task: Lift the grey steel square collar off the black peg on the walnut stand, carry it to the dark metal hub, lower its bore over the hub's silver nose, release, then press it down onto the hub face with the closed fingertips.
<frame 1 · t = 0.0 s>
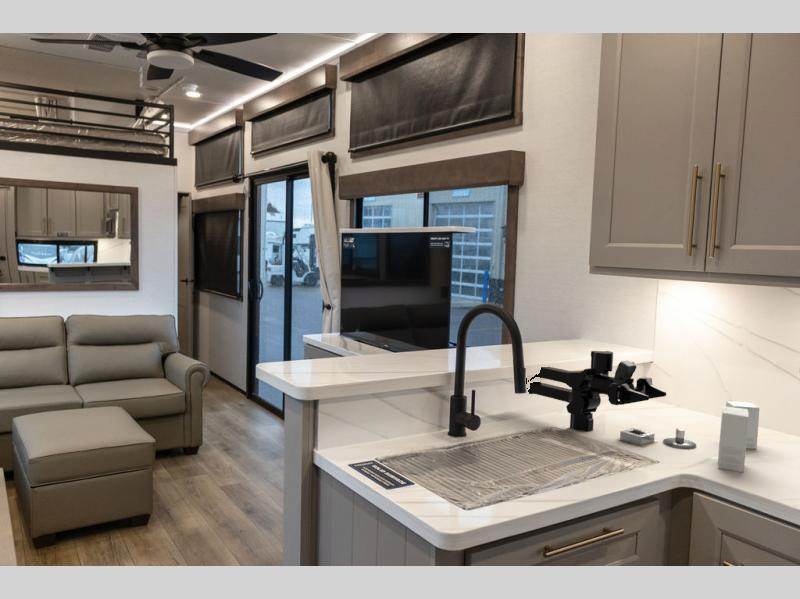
hand: (657, 396, 182), 17 cm above the worktop, tool horizontal, fingers open, 9 cm apart
stand: (636, 444, 191), on the worktop
collar: (636, 440, 191), point 1 cm above the worktop, touching stand
supplement box: (739, 445, 193), on the worktop
skincare box: (731, 467, 173), on the worktop
hub: (679, 447, 188), on the worktop
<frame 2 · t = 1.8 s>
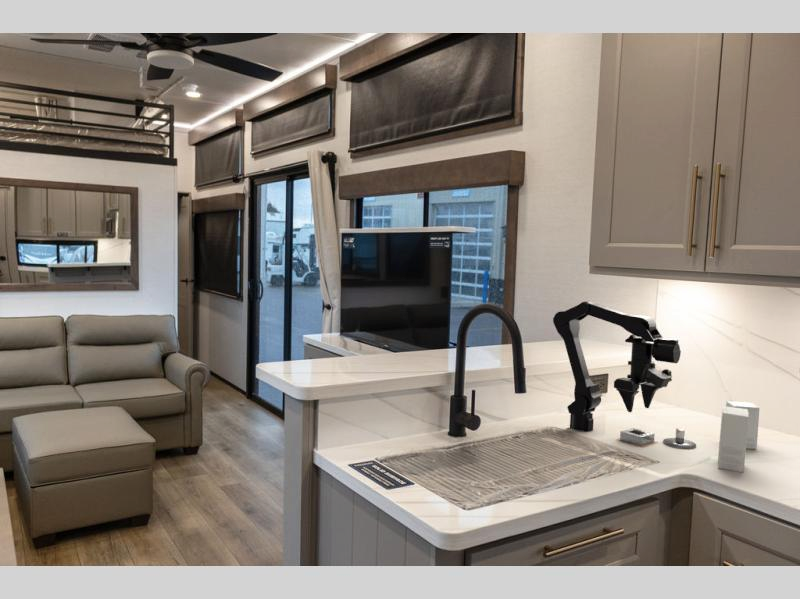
hand: (638, 410, 190), 10 cm above the worktop, tool pointing down, fingers open, 9 cm apart
nothing on the worktop moved.
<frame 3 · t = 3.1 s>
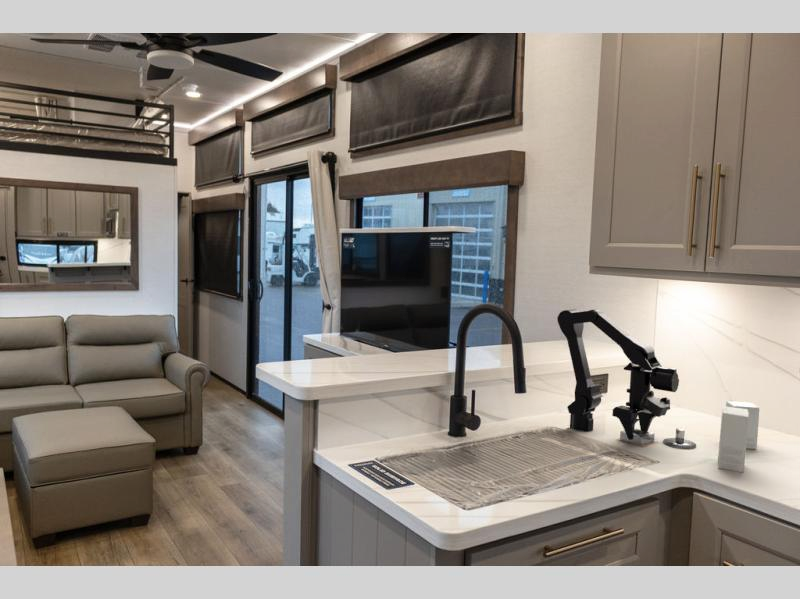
hand: (637, 437, 190), 2 cm above the worktop, tool pointing down, fingers closed on collar, 7 cm apart
collar: (636, 440, 191), point 1 cm above the worktop, touching gripper, stand
everything else where it was.
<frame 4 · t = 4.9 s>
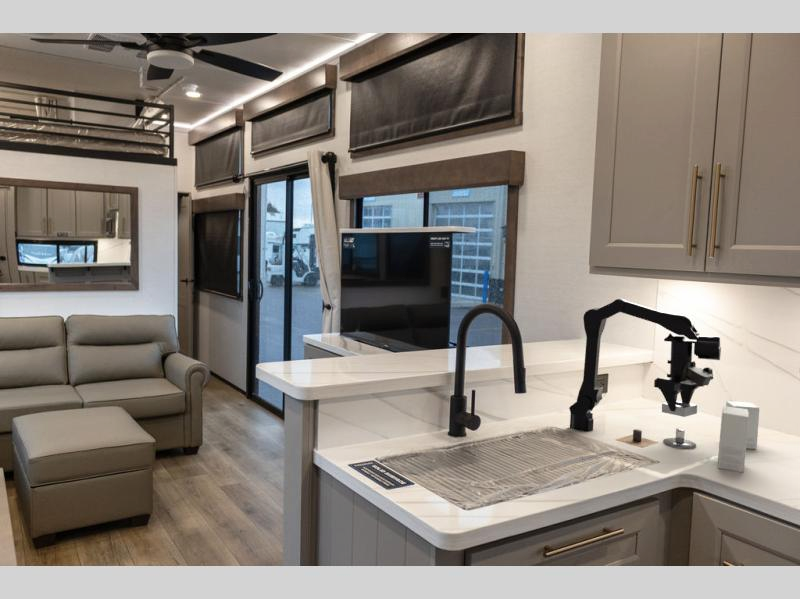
hand: (679, 409, 187), 12 cm above the worktop, tool pointing down, fingers closed on collar, 7 cm apart
collar: (679, 412, 187), point 11 cm above the worktop, touching gripper
everything else where it was.
when the fingers open (4 cm above the worktop, at t = 6.8 s): collar drops 1 cm, resting on hub.
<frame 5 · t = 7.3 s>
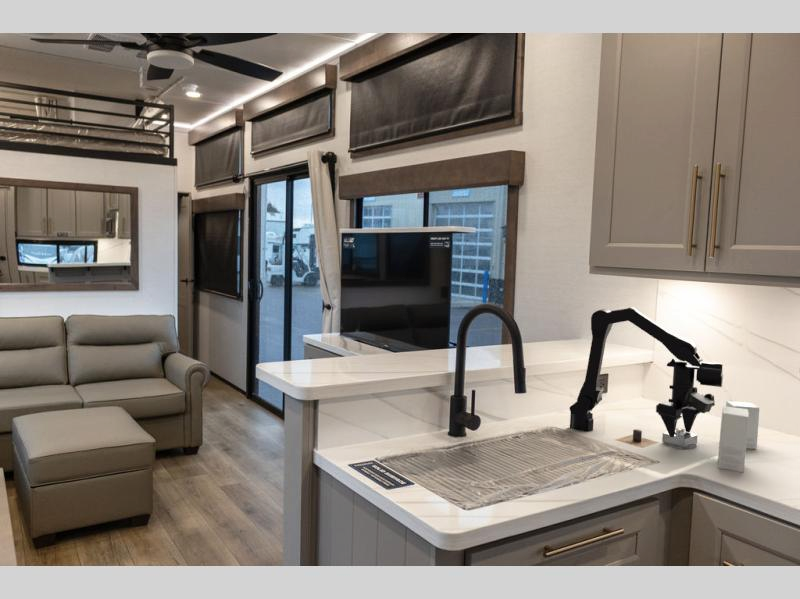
hand: (679, 434, 188), 4 cm above the worktop, tool pointing down, fingers open, 9 cm apart
collar: (679, 442, 188), point 1 cm above the worktop, touching hub
everything else where it was.
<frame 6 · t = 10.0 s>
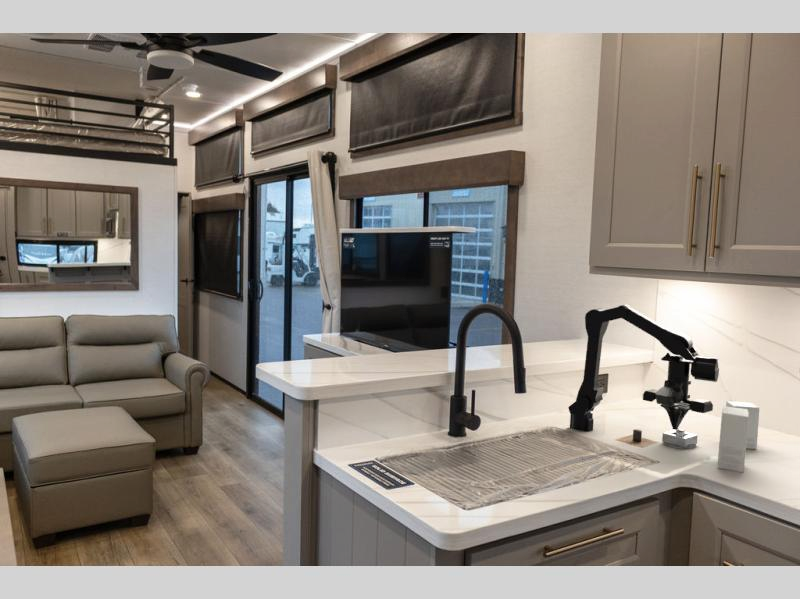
hand: (674, 429, 186), 6 cm above the worktop, tool pointing down, fingers closed
nothing on the worktop moved.
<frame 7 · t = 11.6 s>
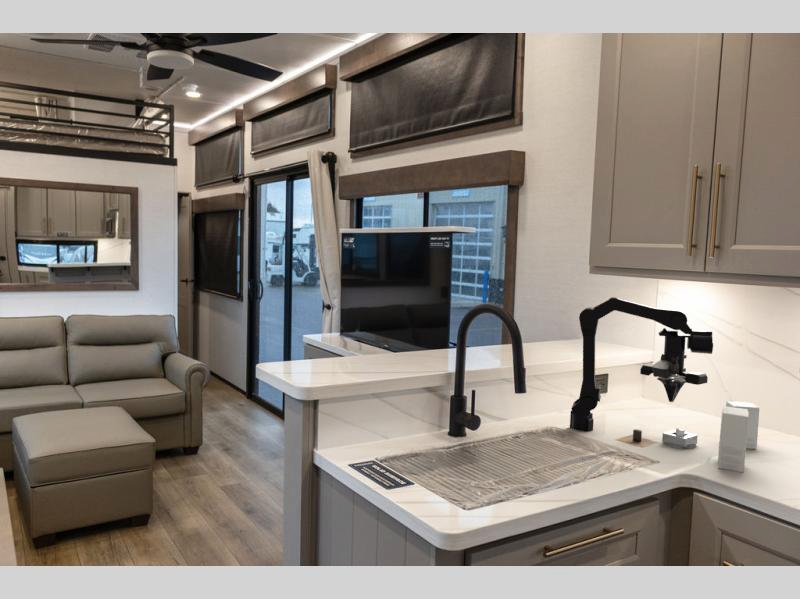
hand: (671, 401, 193), 12 cm above the worktop, tool pointing down, fingers closed
nothing on the worktop moved.
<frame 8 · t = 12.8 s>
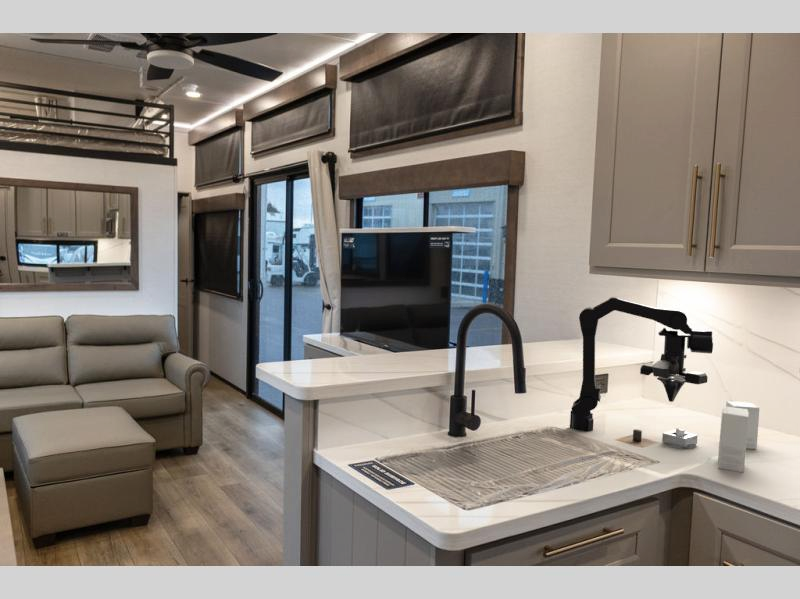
hand: (671, 401, 193), 12 cm above the worktop, tool pointing down, fingers closed
nothing on the worktop moved.
at the end: collar 0.0 cm off-centre on the hub, point 1.5 cm above the hub's base; the gripper is holding nothing; collar moved 12.0 cm from its start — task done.
